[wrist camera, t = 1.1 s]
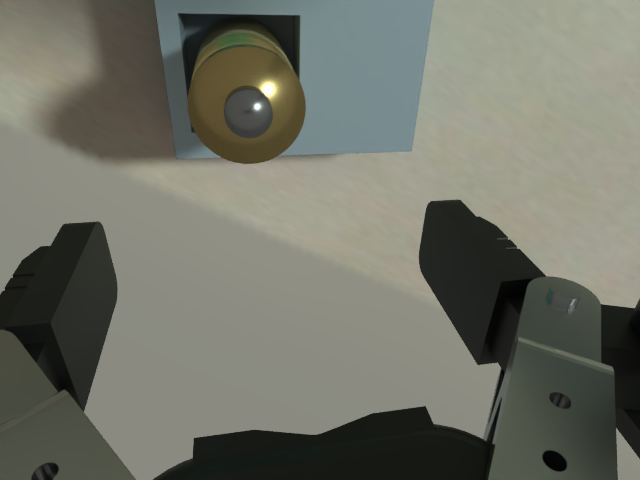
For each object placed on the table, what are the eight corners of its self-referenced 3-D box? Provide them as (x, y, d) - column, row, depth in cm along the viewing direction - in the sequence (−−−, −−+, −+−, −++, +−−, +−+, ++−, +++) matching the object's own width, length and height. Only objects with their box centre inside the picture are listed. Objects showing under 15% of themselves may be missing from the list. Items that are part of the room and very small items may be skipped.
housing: (159, -51, 25) (147, -49, 21) (410, -41, 27) (439, -38, 24) (182, 131, 30) (176, 158, 27) (390, 126, 33) (411, 151, 29)
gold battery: (192, 16, 26) (178, 50, 18) (284, 17, 26) (309, 51, 18) (201, 107, 28) (193, 172, 20) (284, 106, 29) (307, 168, 21)
